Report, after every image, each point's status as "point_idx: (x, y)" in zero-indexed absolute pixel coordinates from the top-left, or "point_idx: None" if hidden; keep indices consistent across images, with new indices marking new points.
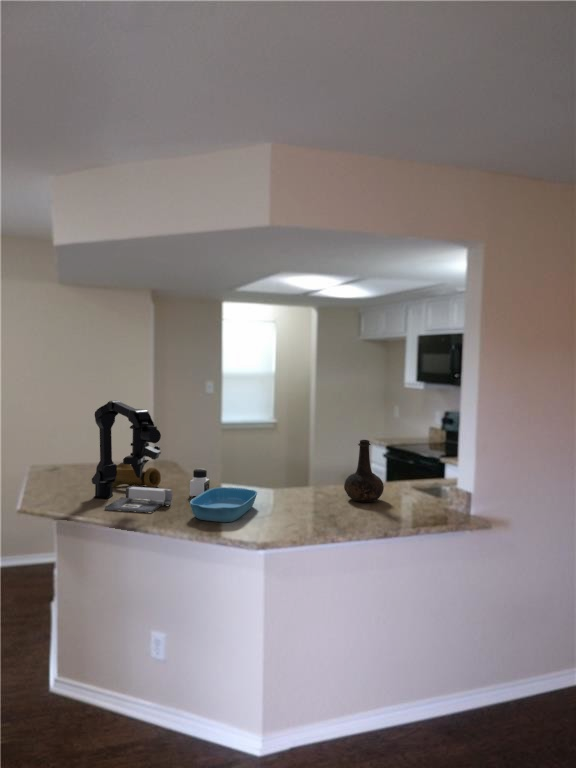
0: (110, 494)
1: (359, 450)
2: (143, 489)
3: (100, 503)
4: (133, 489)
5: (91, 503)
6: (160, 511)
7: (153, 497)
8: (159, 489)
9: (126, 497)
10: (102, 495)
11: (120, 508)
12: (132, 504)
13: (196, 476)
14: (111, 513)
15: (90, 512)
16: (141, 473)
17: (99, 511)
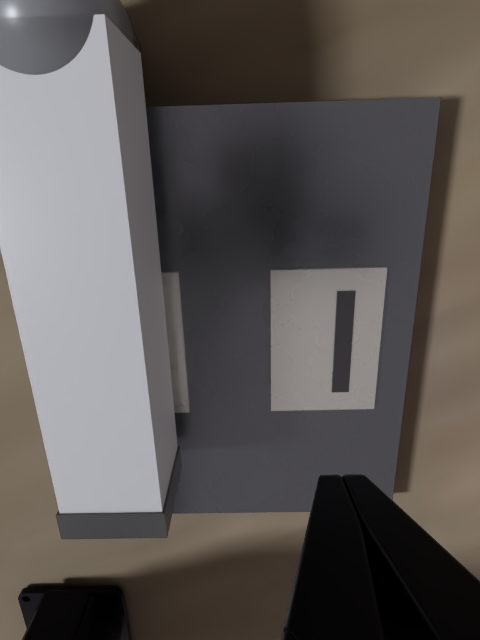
0: (74, 601)
1: None
2: (129, 362)
3: (235, 575)
4: (157, 463)
5: (251, 615)
6: (342, 35)
7: (149, 207)
8: (40, 157)
9: (179, 465)
10: (113, 630)
11: (404, 399)
12: (288, 356)
13: None
14: (465, 420)
15: (456, 543)
16: (322, 530)
17: (425, 507)
